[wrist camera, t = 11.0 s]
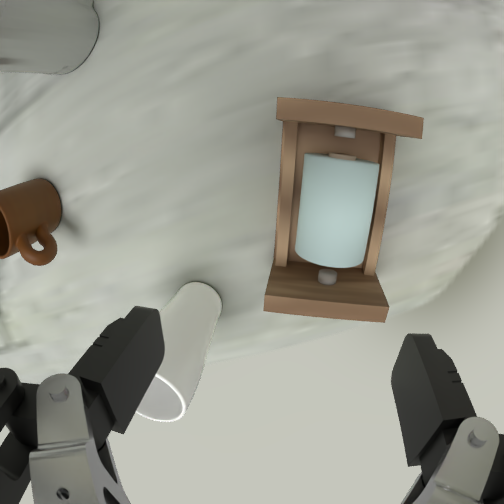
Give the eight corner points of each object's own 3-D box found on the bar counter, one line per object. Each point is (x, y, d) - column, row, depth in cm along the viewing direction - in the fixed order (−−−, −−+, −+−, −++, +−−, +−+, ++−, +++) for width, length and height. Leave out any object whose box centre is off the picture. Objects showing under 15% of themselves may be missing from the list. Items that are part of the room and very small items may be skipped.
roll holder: (284, 105, 26) (277, 97, 19) (392, 119, 25) (423, 117, 17) (273, 268, 32) (263, 311, 25) (369, 278, 31) (384, 322, 24)
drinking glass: (233, 282, 34) (188, 382, 20) (225, 331, 36) (185, 432, 23) (174, 267, 34) (103, 352, 20) (171, 316, 37) (113, 406, 23)
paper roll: (304, 147, 26) (305, 152, 21) (370, 156, 26) (388, 164, 20) (295, 239, 30) (293, 266, 24) (357, 246, 29) (368, 274, 23)
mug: (94, 211, 33) (41, 240, 25) (80, 260, 36) (33, 295, 28) (33, 167, 32) (-21, 184, 24) (23, 215, 35) (-25, 238, 27)
